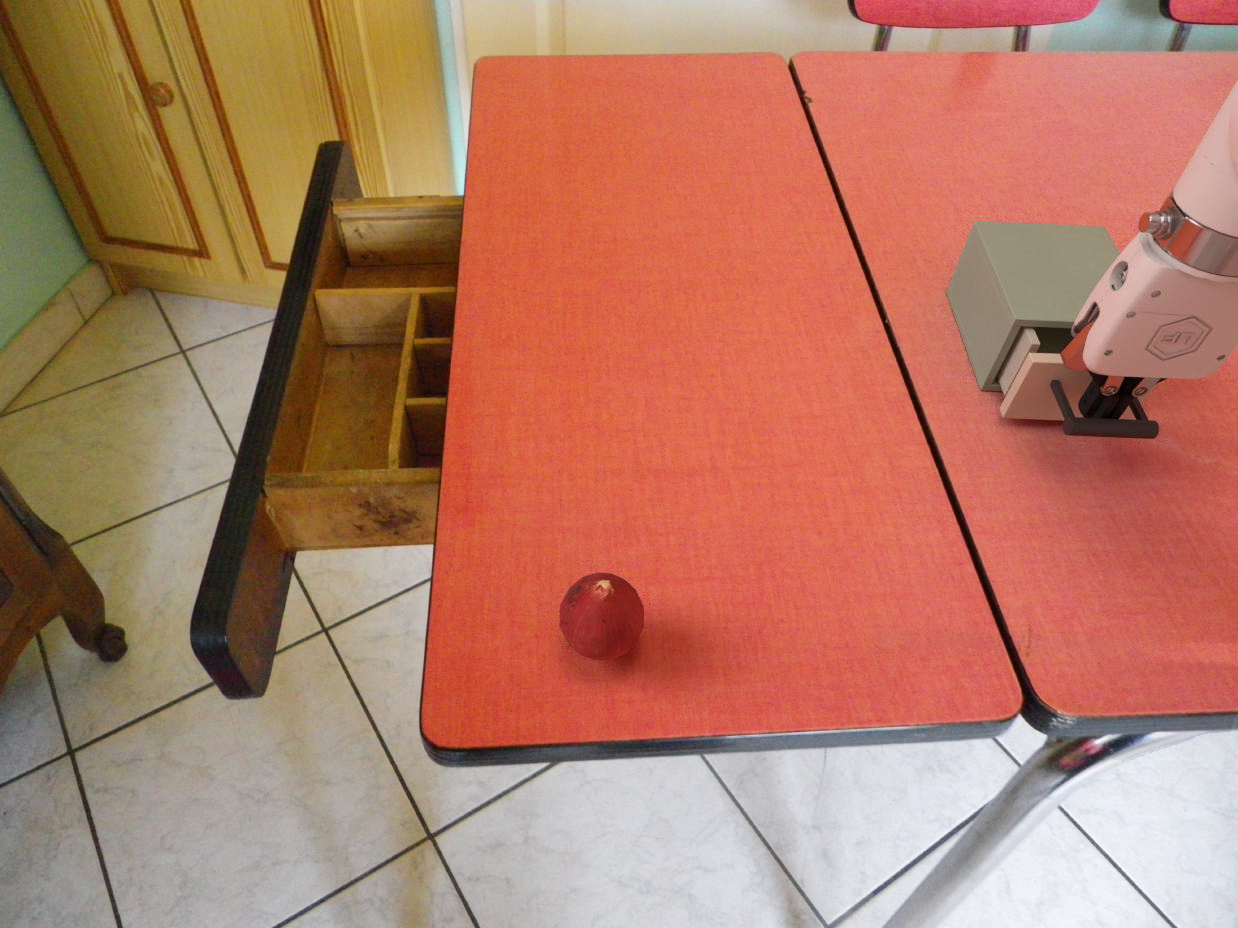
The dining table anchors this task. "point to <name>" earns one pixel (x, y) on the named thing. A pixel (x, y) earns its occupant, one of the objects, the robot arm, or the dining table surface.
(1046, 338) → the drawer
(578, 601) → the onion
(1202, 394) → the dining table surface
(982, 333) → the cabinet
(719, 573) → the dining table surface
